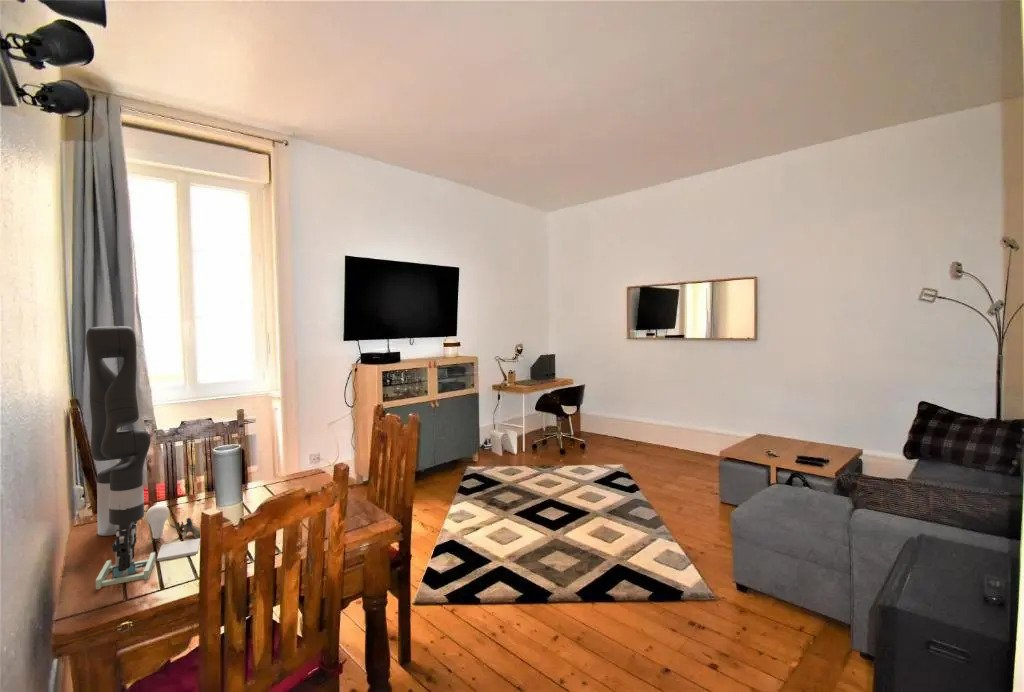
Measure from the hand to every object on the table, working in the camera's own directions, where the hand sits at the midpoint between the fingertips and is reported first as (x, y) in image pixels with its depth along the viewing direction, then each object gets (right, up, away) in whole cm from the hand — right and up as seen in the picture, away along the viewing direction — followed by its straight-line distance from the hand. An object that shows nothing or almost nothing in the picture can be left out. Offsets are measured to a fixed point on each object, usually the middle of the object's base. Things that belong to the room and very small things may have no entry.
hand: (127, 563), depth 131 cm
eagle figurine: (+1, -3, +24) cm, 24 cm away
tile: (+4, -3, +14) cm, 15 cm away
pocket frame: (0, -3, 0) cm, 3 cm away
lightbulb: (-8, -2, +22) cm, 24 cm away
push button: (0, -3, 0) cm, 3 cm away
